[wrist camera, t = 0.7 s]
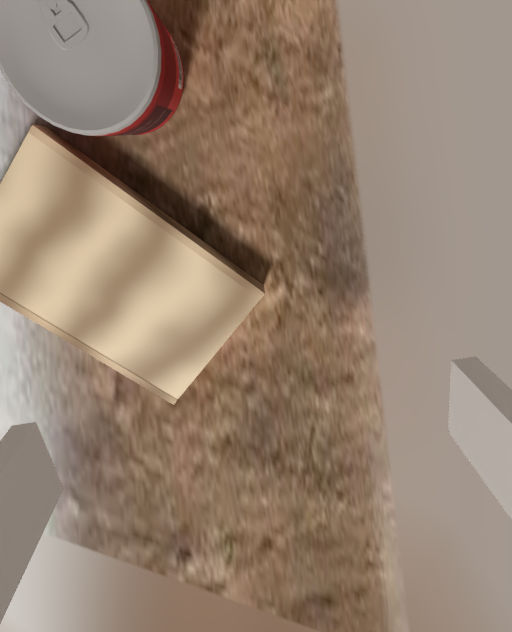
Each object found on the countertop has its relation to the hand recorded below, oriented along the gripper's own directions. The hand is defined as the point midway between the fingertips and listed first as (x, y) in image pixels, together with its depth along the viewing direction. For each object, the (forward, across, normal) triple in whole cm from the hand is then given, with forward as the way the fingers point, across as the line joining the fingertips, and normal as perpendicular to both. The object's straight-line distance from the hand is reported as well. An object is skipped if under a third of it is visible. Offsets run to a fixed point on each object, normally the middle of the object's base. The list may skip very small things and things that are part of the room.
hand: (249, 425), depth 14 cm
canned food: (+24, -6, +13) cm, 28 cm away
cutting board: (+23, -10, -1) cm, 25 cm away
